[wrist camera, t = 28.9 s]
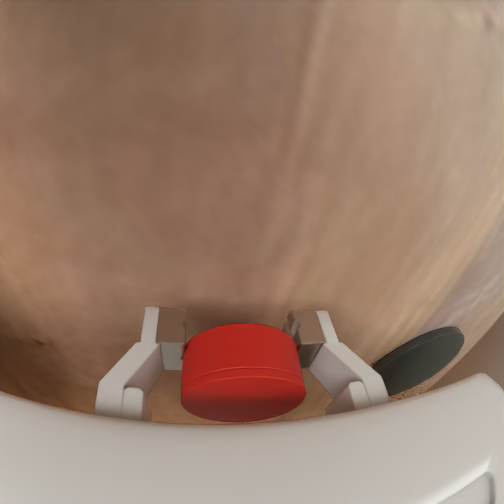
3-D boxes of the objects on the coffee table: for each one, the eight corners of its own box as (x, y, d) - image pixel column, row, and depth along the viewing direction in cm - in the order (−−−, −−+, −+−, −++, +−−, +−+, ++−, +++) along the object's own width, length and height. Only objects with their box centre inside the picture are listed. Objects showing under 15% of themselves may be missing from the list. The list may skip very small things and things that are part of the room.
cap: (265, 305, 9) (274, 362, 7) (311, 360, 11) (321, 403, 9) (159, 346, 10) (154, 395, 8) (223, 388, 12) (224, 428, 10)
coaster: (480, 320, 19) (483, 325, 18) (421, 382, 25) (423, 387, 24) (397, 333, 17) (401, 341, 16) (340, 400, 23) (342, 405, 23)
